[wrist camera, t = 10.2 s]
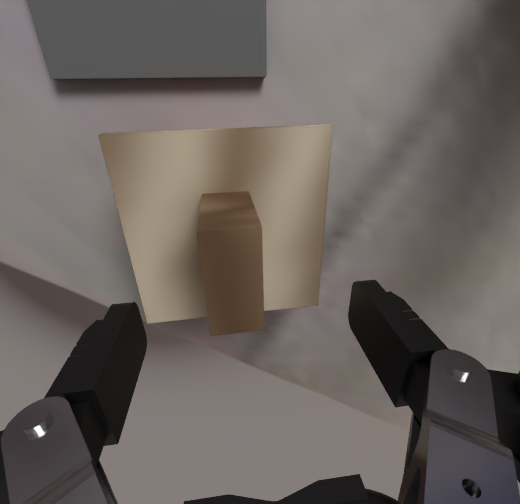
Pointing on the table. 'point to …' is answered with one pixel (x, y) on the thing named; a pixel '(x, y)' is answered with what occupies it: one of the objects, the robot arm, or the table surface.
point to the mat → (151, 38)
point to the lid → (222, 219)
